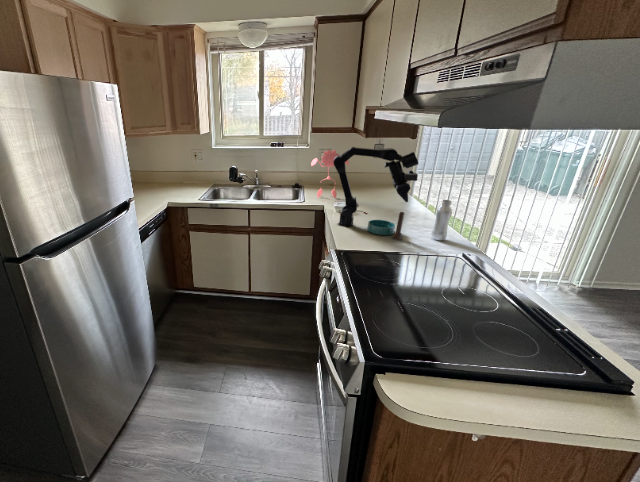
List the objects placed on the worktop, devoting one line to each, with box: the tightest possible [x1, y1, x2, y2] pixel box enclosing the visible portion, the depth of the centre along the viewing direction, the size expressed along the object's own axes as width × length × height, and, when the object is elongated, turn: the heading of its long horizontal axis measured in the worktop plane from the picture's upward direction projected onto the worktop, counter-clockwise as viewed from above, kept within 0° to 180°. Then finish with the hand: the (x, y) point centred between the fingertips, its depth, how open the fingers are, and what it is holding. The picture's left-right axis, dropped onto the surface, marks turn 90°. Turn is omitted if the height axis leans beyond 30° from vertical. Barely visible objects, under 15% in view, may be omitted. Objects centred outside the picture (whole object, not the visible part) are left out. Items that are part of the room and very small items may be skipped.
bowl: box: [366, 219, 396, 236], centre depth 170 cm, size 13×13×4 cm
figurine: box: [310, 149, 350, 202], centre depth 227 cm, size 15×26×35 cm, turn 76°
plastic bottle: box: [430, 199, 453, 241], centre depth 156 cm, size 6×7×20 cm
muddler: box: [392, 211, 405, 241], centre depth 159 cm, size 4×4×14 cm
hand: (405, 199), depth 167 cm, fingers open, 9 cm apart
